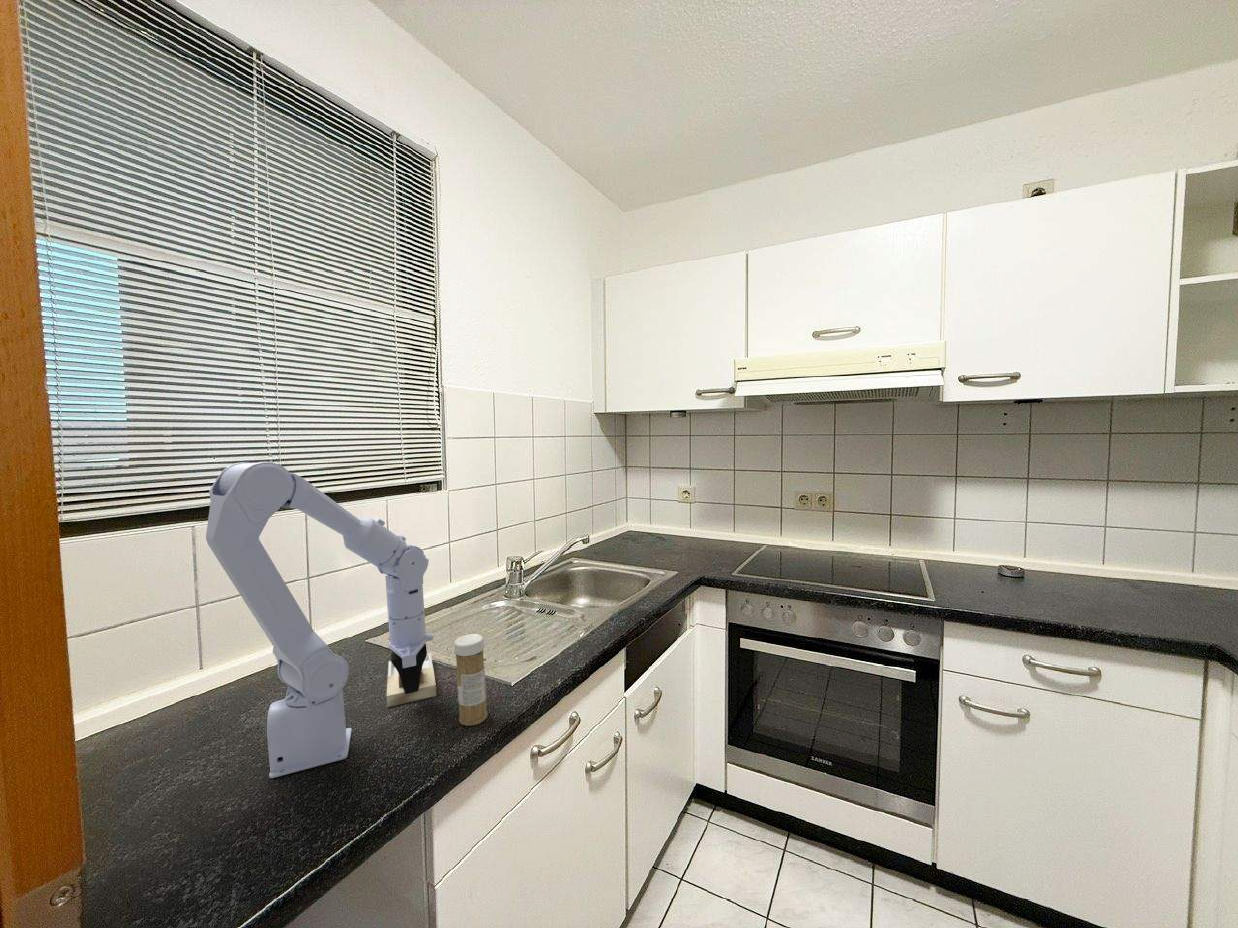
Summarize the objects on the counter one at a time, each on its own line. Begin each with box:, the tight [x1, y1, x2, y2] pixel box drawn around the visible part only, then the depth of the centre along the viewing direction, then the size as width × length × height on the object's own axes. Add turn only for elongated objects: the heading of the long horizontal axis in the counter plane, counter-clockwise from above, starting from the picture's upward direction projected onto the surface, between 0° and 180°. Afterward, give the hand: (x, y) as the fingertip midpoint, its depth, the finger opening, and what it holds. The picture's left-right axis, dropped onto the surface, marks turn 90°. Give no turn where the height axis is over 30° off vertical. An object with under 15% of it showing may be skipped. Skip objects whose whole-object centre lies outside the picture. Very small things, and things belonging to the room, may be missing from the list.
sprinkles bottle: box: [453, 633, 488, 727], centre depth 80 cm, size 5×5×14 cm
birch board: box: [386, 666, 437, 708], centre depth 91 cm, size 8×8×2 cm
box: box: [387, 652, 434, 677], centre depth 98 cm, size 8×8×2 cm
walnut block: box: [398, 669, 423, 688], centre depth 90 cm, size 4×4×2 cm
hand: (411, 690), depth 85 cm, fingers closed
